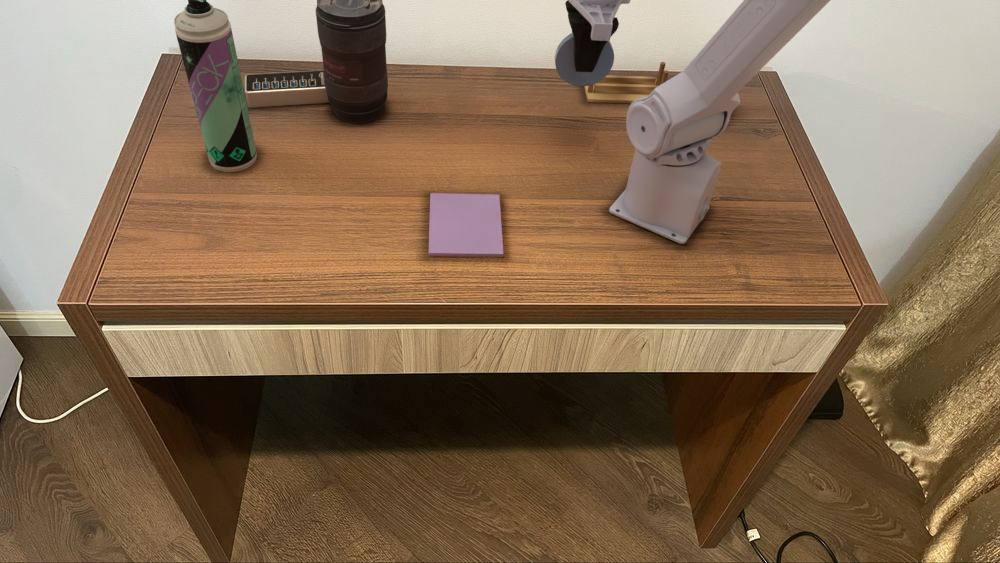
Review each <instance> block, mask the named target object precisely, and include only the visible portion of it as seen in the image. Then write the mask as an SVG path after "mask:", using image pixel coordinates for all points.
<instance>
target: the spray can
mask: <svg viewBox="0 0 1000 563" xmlns="http://www.w3.org/2000/svg"><path fill="white" fill-rule="evenodd" d="M187 2H188V3H187V5H185V7H184V9H183V11H181V12H179V13H177V15H176V16H175V17H174V19H173V24H174V32H175V35H176V40H177V44H178V47H179V51H180V56H181V58H182V59H181V60H182V63H183V67H184V71H185V73H186V77H187V82H188V86H189V89H190V94H191V97H192V100H193V104H194V109H195V113H196V116H197V119H198V120H197V121H198V125H199V127H200V131H201V135H202V139H203V143H204V147H205V151H206V155H207V158H208V161H209V164H210V165H211V167H212V168H213V169H215V170H216V171H220V172H222V173H223V172H224V173H235V172H240V171H244V170H246V169H249V168H250V167H251V166H253V165H254V163H255V162H256V161H257V158H258V152H257V147H256V143H255V139H254V133H253V128H252V123H251V119H250V114H249V107H248V104H247V100H246V95H245V87H244V83H243V79H242V74H241V70H240V69H241V68H240V64H239V59H238V54H237V50H236V44H235V39H234V34H233V30H232V25H231V24H232V23H231V22H230V20H229V15H228V14H227V13H226V12H225V11H224V10H222V9H219V8H216V7H214V6H213V5H212V4H211V3H209V2H208V1H207V0H187Z"/></svg>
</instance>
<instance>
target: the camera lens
mask: <svg viewBox="0 0 1000 563" xmlns="http://www.w3.org/2000/svg"><path fill="white" fill-rule="evenodd" d="M315 18H316V27H317V36H318V40H319V45H320V48H321V56H322V64H323V65H322V66H323V70H324V82H325V88H326V92H327V96H328V101H329V105H331V107H332V112H333V114H334V115H335V116H336V117H337V118H338V119H340V120H341V121H344V122H347V123H353V124H354V123H355V124H356V123H357V124H358V123H359V124H360V123H361V124H362V123H368V122H371V121H374V120H377V119H378V118H380V117H381V116H382V115H383V114H384V112H385V109H386V102H387V100H388V91H389V90H388V88H389V80H388V68H387V67H388V66H387V48H386V45H387V20H386V8H385V5H384V3H383V0H316V7H315Z"/></svg>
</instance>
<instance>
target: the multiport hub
mask: <svg viewBox="0 0 1000 563" xmlns="http://www.w3.org/2000/svg"><path fill="white" fill-rule="evenodd" d="M244 93H245V98H246V103H247V108H250V109H253V108H269V107H285V106H286V107H287V106H298V105H314V104H315V105H316V104H328V103H329V101H328V96H327V92H326V88H325V82H324V69H319V70H304V71H285V72H283V71H282V72H268V73H267V72H266V73H250V74H245V76H244ZM329 104H330V103H329Z"/></svg>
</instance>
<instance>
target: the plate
mask: <svg viewBox="0 0 1000 563" xmlns="http://www.w3.org/2000/svg"><path fill="white" fill-rule="evenodd" d="M614 63H615V52H614V48H613V45H612V42H611V40H610V41H607V43H606V44H605V46H604V48H603V50H602V52H601V55H600V57H599V59H598V62H597V64H596V66H595V68H594V70H593V72H577V71H576V69H575V63H574V36H573V33H572V32H571V33H569V34H568V35H566V36H565V37H563V39H562V40H561V41H560V42H559V44H558V46H557V48H556V49H555V53H554V66H555V70H556V72H557V74H558V76H559V77H560V78H561V79H562V80H563V81H564V82H566V83H567V84H569V85H572V86H576V87H584V86H589V85H593V84H595V83H597V82H599V81H601V80H602V79H603V78H605V77H606V76H607V75H609V73H610V72H611V70H612V69H613V66H614Z"/></svg>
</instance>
